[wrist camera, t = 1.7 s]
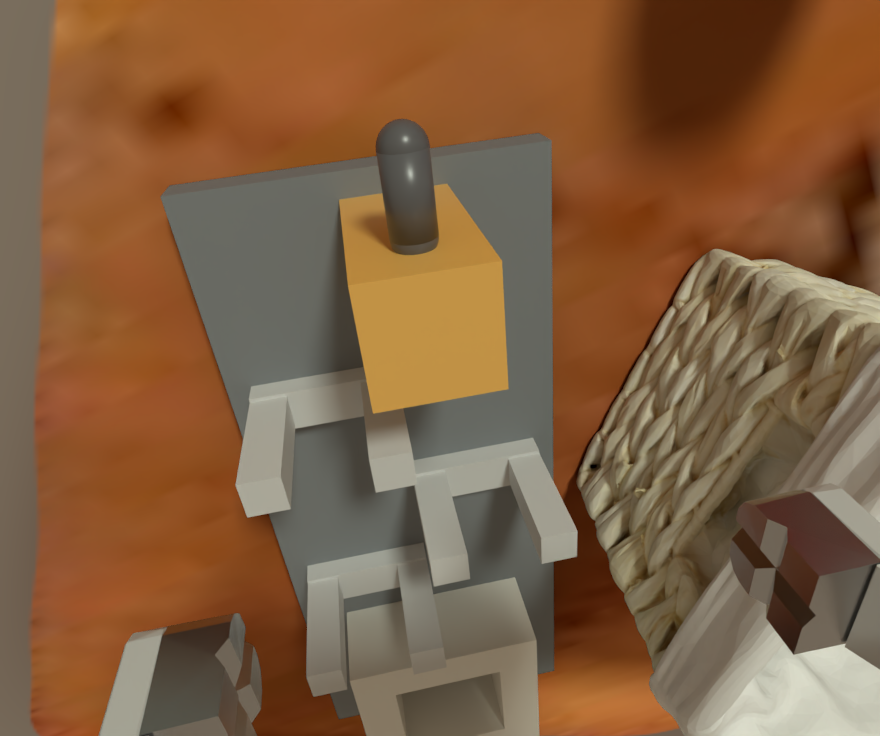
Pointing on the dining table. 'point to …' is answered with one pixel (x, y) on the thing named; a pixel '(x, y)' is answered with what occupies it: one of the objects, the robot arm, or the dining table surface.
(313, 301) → the board
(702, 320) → the storage basket
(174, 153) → the dining table surface
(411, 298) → the plug
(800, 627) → the robot arm
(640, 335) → the dining table surface
